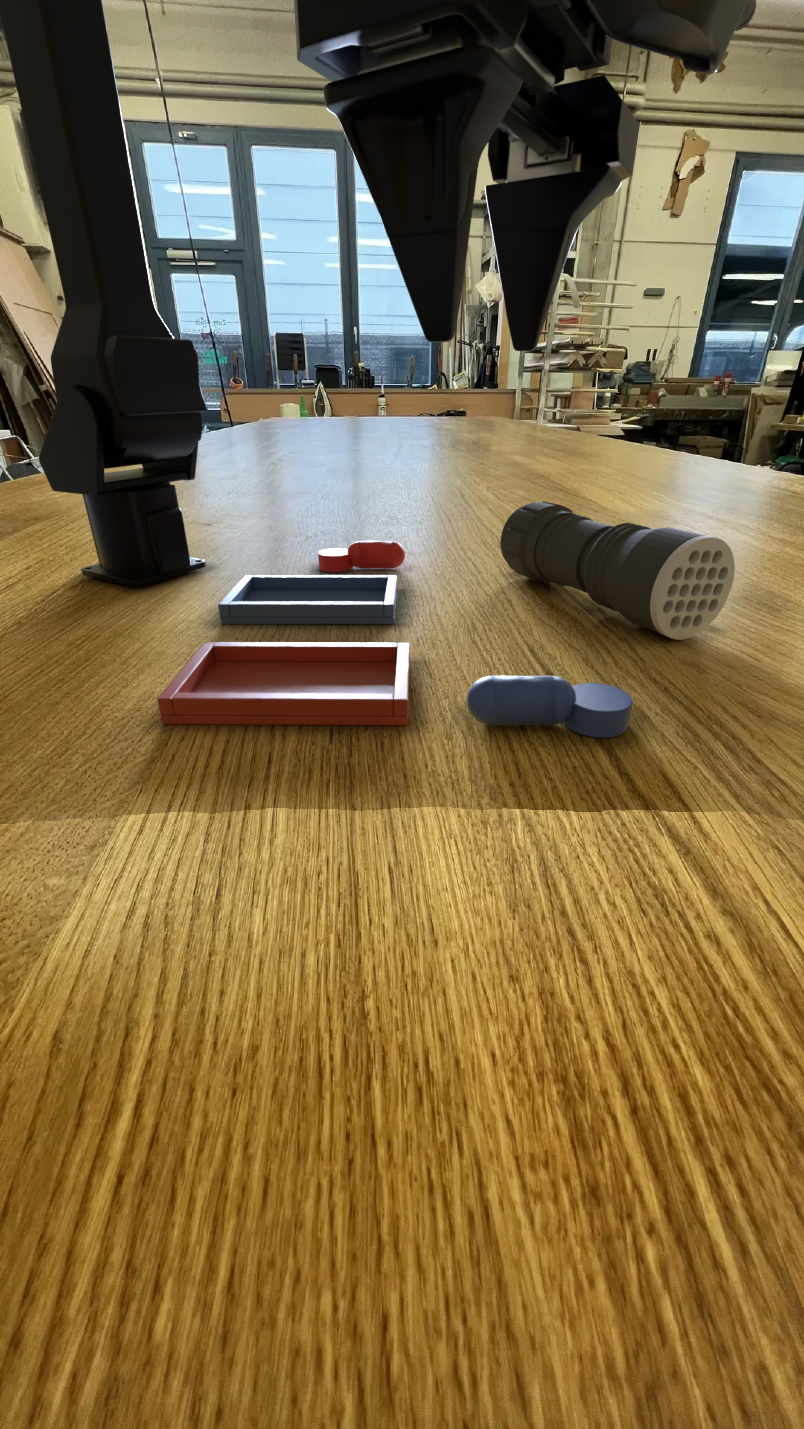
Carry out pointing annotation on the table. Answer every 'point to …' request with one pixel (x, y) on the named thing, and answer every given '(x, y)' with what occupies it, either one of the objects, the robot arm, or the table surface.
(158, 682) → the table surface
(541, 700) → the blue capsule with disc
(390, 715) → the red tray
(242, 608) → the blue tray
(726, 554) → the flashlight
